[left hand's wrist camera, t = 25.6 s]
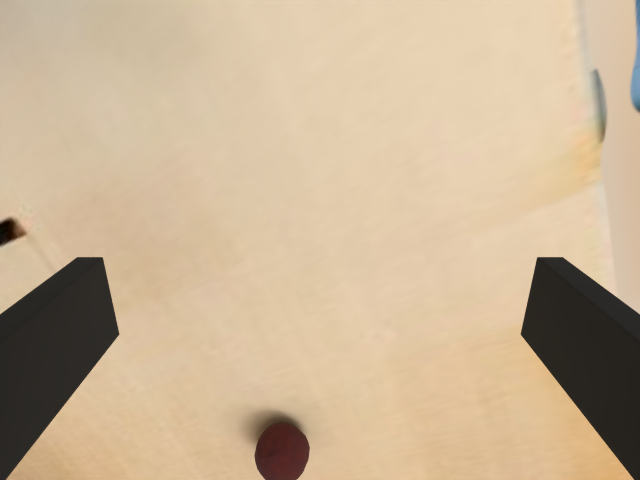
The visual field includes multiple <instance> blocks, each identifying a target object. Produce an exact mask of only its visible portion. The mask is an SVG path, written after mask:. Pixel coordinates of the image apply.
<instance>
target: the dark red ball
mask: <svg viewBox="0 0 640 480" xmlns="http://www.w3.org/2000/svg"><path fill="white" fill-rule="evenodd" d="M309 449H310V447H309V443H308V440H307V438H306V436H305V435H304V434H303V433H302V432H301V431H300V430H299V429H298V428H296V427H294V426H292V425H290V424H288V423H278V424H274V425H272V426H270V427H268V428H267V429H266V430H265V431H264V433H263V434H262V435H261V437H260V438H259V440H258V443H257V446H256V451H255V462H256V465H257V469H258V471H259V472H260V474H261V475H262V476H263V477H264V479H265V480H297V479H298V478H299V477H300V476H301V474H302V473H303V471H304V469H305V466H306V464H307V461H308V458H309Z"/></svg>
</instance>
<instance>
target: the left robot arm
mask: <svg viewBox="0 0 640 480" xmlns="http://www.w3.org/2000/svg"><path fill="white" fill-rule="evenodd" d="M118 335H119V331H118V326H117V321H116V317H115V312H114V307H113V303H112V298H111V294H110V289H109V284H108V280H107V275H106V270H105V266H104V261H103V257H77V258H76V259H74V260H73V261H72V262H70V263H69V264H68V265H66V266H65V267H64V268H62V269H61V270H60V271H58V272H57V273H55V274H54V275H53V276H51V277H50V278H49V279H47V280H46V281H45V282H43V283H42V284H41V285H39V286H38V287H37V288H35V289H34V290H33V291H31V292H30V293H28V294H27V295H26V296H24V297H23V298H22V299H20V300H19V301H18V302H16V303H15V304H14V305H12V306H11V307H10V308H8V309H7V310H6V311H4V312H3V313H2V314H0V480H6V479H7V477H8V476H9V475H10V474H11V472H12V471H13V470H14V468H15V467H16V466H17V465H18V463H19V462H20V461H21V459H22V458H23V457H24V456H25V454H26V453H27V452H28V451H29V449H30V448H31V447H32V445H33V444H34V443H35V442H36V440H37V439H38V438H39V436H40V435H41V434H42V433H43V431H44V430H45V429H46V427H47V426H48V425H49V424H50V422H51V421H52V420H53V419H54V417H55V416H56V415H57V413H58V412H59V411H60V410H61V408H62V407H63V406H64V404H65V403H66V402H67V401H68V399H69V398H70V397H71V396H72V394H73V393H74V392H75V390H76V389H77V388H78V387H79V385H80V384H81V383H82V381H83V380H84V379H85V378H86V376H87V375H88V374H89V372H90V371H91V370H92V369H93V367H94V366H95V365H96V364H97V362H98V361H99V360H100V358H101V357H102V356H103V355H104V353H105V352H106V351H107V349H108V348H109V347H110V346H111V344H112V343H113V342H114V340H115V339H116V338H117V337H118ZM521 335H522V337H523V338H524V339H525V340H526V342H527V343H528V344H529V346H530V347H531V348H532V349H533V351H534V352H535V353H536V355H537V356H538V357H539V358H540V360H541V361H542V362H543V364H544V365H545V366H546V367H547V369H548V370H549V371H550V372H551V374H552V375H553V376H554V378H555V379H556V380H557V381H558V383H559V384H560V385H561V387H562V388H563V389H564V390H565V392H566V393H567V394H568V396H569V397H570V398H571V399H572V401H573V402H574V403H575V404H576V406H577V407H578V408H579V410H580V411H581V412H582V413H583V415H584V416H585V417H586V419H587V420H588V421H589V422H590V424H591V425H592V426H593V427H594V429H595V430H596V431H597V433H598V434H599V435H600V436H601V438H602V439H603V440H604V442H605V443H606V444H607V445H608V447H609V448H610V449H611V451H612V452H613V453H614V454H615V456H616V457H617V458H618V459H619V461H620V462H621V463H622V465H623V466H624V467H625V468H626V470H627V471H628V472H629V474H630V475H631V476H632V477H633V479H634V480H640V314H638V313H637V312H636V311H634V310H633V309H632V308H630V307H629V306H628V305H626V304H625V303H624V302H622V301H621V300H620V299H618V298H617V297H616V296H614V295H613V294H611V293H610V292H609V291H607V290H606V289H605V288H603V287H602V286H601V285H599V284H598V283H597V282H595V281H594V280H593V279H591V278H590V277H589V276H587V275H586V274H585V273H583V272H582V271H580V270H579V269H578V268H576V267H575V266H574V265H572V264H571V263H570V262H568V261H567V260H566V259H564V258H563V257H537V261H536V266H535V270H534V275H533V280H532V284H531V289H530V294H529V298H528V303H527V307H526V312H525V317H524V321H523V326H522V331H521Z"/></svg>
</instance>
